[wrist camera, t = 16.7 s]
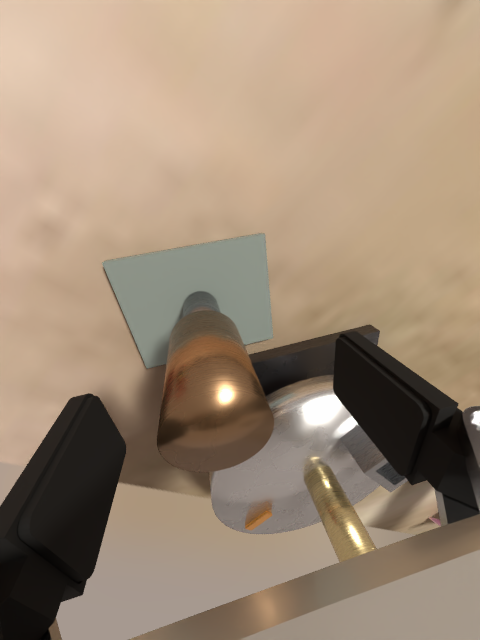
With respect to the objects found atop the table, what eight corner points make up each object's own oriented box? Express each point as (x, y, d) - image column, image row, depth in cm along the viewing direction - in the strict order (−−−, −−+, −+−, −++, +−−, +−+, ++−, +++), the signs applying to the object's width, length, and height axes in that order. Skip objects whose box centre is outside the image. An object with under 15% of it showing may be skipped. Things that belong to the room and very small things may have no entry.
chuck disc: (287, 521, 25) (320, 623, 19) (162, 480, 17) (150, 631, 11) (416, 429, 22) (504, 513, 16) (338, 331, 15) (450, 421, 8)
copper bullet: (220, 277, 15) (267, 377, 6) (230, 323, 17) (278, 452, 8) (166, 289, 15) (137, 414, 6) (182, 335, 16) (178, 484, 8)
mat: (262, 233, 15) (264, 233, 14) (270, 334, 19) (273, 338, 18) (105, 260, 14) (101, 262, 13) (148, 363, 17) (146, 368, 17)
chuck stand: (369, 324, 21) (407, 348, 17) (351, 440, 29) (375, 472, 25) (185, 370, 18) (185, 408, 15) (221, 482, 26) (226, 524, 23)
